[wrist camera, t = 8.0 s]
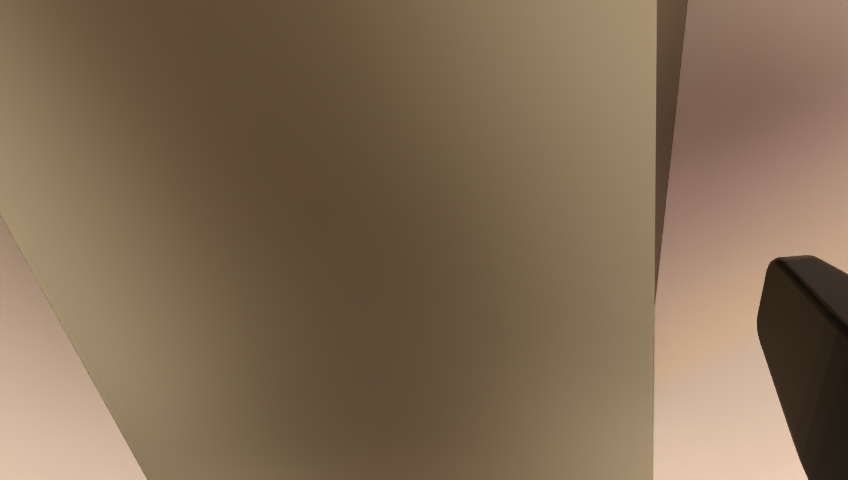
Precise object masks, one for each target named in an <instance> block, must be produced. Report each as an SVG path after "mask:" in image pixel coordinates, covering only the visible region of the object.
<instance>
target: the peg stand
mask: <svg viewBox="0 0 848 480" xmlns="http://www.w3.org/2000/svg"><path fill="white" fill-rule="evenodd" d="M687 2H688V0H657V51H656V175H655V298H656V289H657V279H658V270H659V261H660V252H661V243H662V233H663V224H664V215H665V206H666V196H667V187H668V178H669V169H670V159H671V150H672V141H673V132H674V122H675V113H676V104H677V95H678V85H679V76H680V67H681V58H682V48H683V39H684V30H685V21H686V11H687ZM654 307H655V299H654Z"/></svg>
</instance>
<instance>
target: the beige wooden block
mask: <svg viewBox="0 0 848 480" xmlns="http://www.w3.org/2000/svg"><path fill="white" fill-rule="evenodd" d="M656 51H657V0H0V215H1V217H2V219H3V220H4V222H5V224H6V226H7V228H8V229H9V231H10V233H11V235H12V237H13V238H14V240H15V242H16V244H17V246H18V247H19V249H20V251H21V253H22V255H23V256H24V258H25V260H26V262H27V264H28V265H29V267H30V269H31V271H32V273H33V274H34V276H35V278H36V280H37V282H38V283H39V285H40V287H41V289H42V291H43V292H44V294H45V296H46V298H47V300H48V301H49V303H50V305H51V307H52V309H53V310H54V312H55V314H56V316H57V318H58V319H59V321H60V323H61V325H62V327H63V328H64V330H65V332H66V334H67V336H68V337H69V339H70V341H71V343H72V345H73V347H74V348H75V350H76V352H77V354H78V356H79V357H80V359H81V361H82V363H83V365H84V366H85V368H86V370H87V372H88V374H89V375H90V377H91V379H92V381H93V383H94V384H95V386H96V388H97V390H98V392H99V393H100V395H101V397H102V399H103V401H104V402H105V404H106V406H107V408H108V410H109V411H110V413H111V415H112V417H113V419H114V420H115V422H116V424H117V426H118V428H119V429H120V431H121V433H122V435H123V437H124V438H125V440H126V442H127V444H128V446H129V447H130V449H131V451H132V453H133V455H134V456H135V458H136V460H137V462H138V464H139V465H140V467H141V469H142V471H143V473H144V474H145V476H146V478H147V480H653V423H654V299H655V175H656Z"/></svg>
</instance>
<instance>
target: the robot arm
mask: <svg viewBox="0 0 848 480" xmlns="http://www.w3.org/2000/svg"><path fill="white" fill-rule="evenodd" d="M757 331H758V336H759V340H760V343H761V346H762V349H763V352H764V355H765V358H766V361H767V364H768V367H769V370H770V373H771V376H772V379H773V382H774V385H775V388H776V391H777V394H778V397H779V400H780V403H781V406H782V409H783V412H784V415H785V418H786V421H787V424H788V427H789V430H790V433H791V436H792V439H793V442H794V445H795V448H796V451H797V453H798V456H799V459H800V461H801V464H802V466H803V468H804V471H805V473H806V475H807V477H808V480H848V274H847V273H845V272H843V271H841V270H839V269H838V268H836V267H834V266H832V265H830V264H828V263H826V262H824V261H823V260H821V259H819V258H817V257H814V256H810V255H803V256H791V257H778V258H776V259H774V260H773V261H771V262H770V264H769V266H768V268H767V272H766V277H765V281H764V286H763V291H762V296H761V301H760V306H759V311H758V316H757Z"/></svg>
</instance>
